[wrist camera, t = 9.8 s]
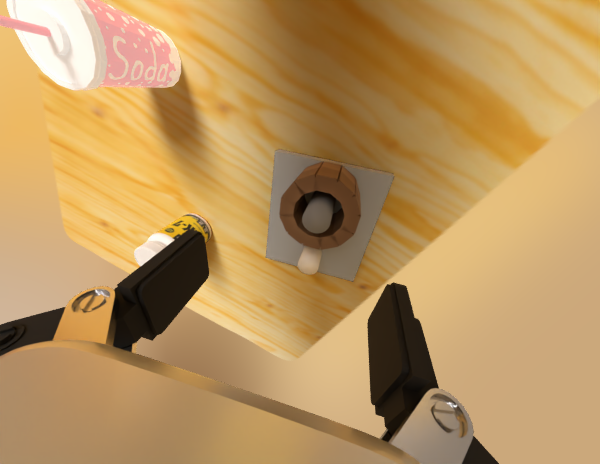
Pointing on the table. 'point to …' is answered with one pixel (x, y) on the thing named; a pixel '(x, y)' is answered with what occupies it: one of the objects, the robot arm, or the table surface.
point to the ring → (328, 181)
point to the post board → (352, 246)
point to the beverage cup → (93, 44)
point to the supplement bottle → (171, 236)
